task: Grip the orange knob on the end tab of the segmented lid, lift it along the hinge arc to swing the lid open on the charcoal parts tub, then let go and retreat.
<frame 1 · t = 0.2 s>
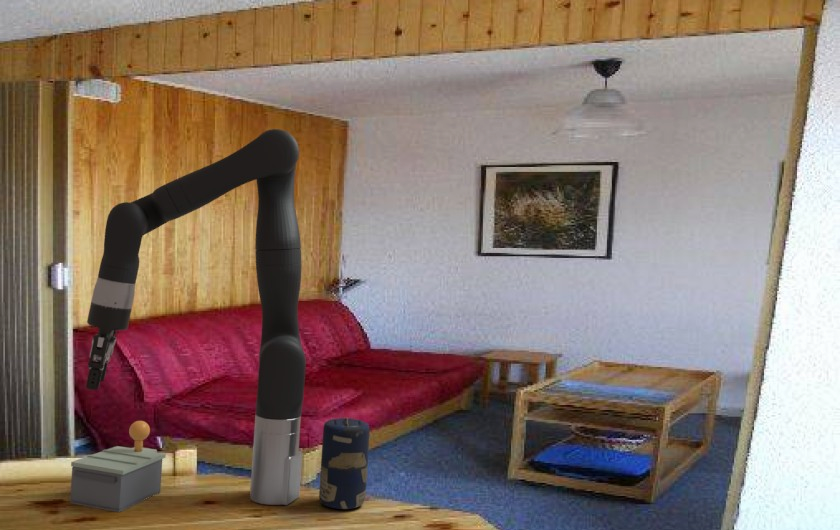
hand: (95, 384, 151), 22 cm above the table, tool pointing down, fingers open, 8 cm apart
lid: (123, 443, 154), point 11 cm above the table, hinge at 0.0°
parts tub: (116, 497, 153), on the table
canister: (341, 505, 158), on the table
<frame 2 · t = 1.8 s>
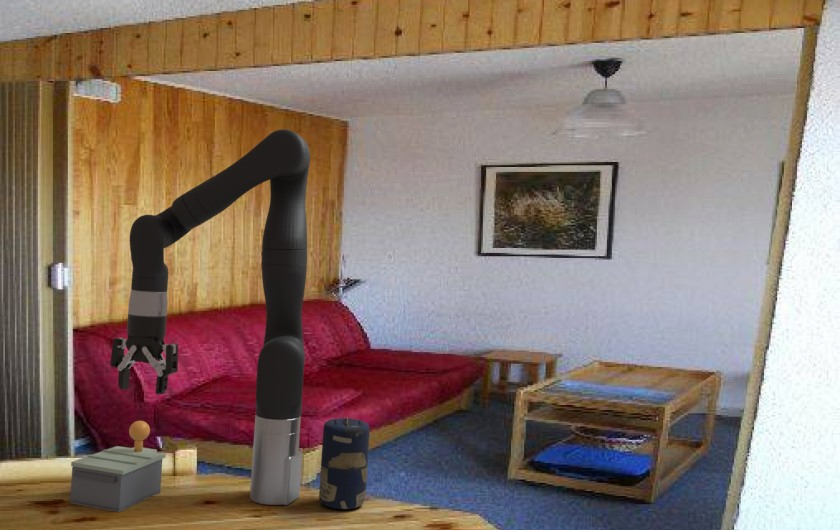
hand: (142, 391, 159), 20 cm above the table, tool pointing down, fingers open, 8 cm apart
nothing on the table moved.
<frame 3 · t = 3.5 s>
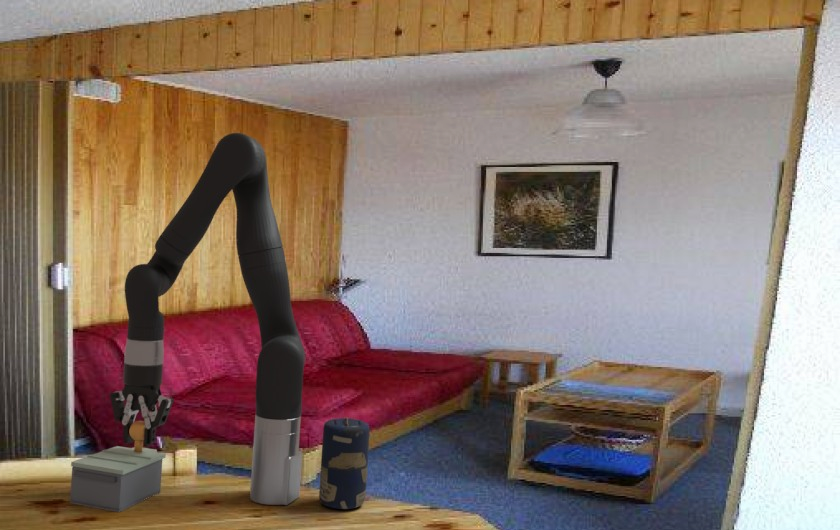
hand: (138, 443, 159), 9 cm above the table, tool pointing down, fingers closed on lid, 4 cm apart
lid: (123, 443, 154), point 11 cm above the table, hinge at 0.0°, touching gripper
everything else where it was.
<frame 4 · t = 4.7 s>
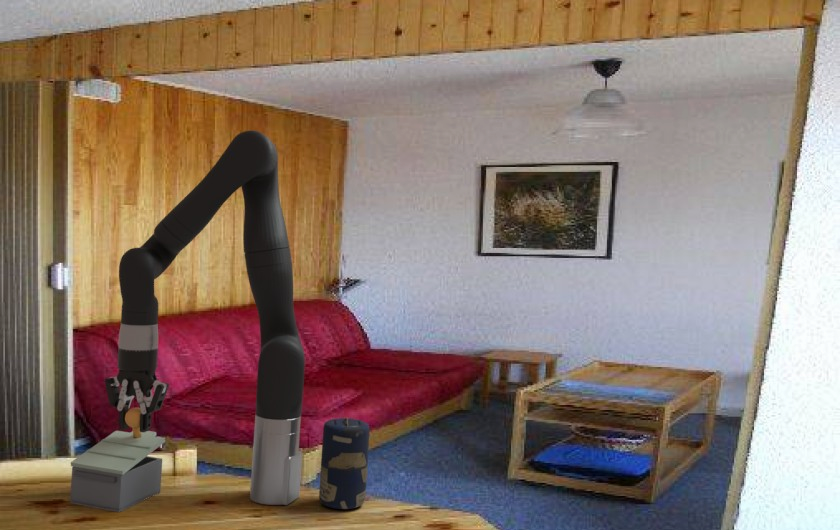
hand: (134, 429, 157), 13 cm above the table, tool pointing down, fingers closed on lid, 4 cm apart
lid: (120, 435, 153), point 12 cm above the table, hinge at 14.6°, touching gripper
everything else where it was.
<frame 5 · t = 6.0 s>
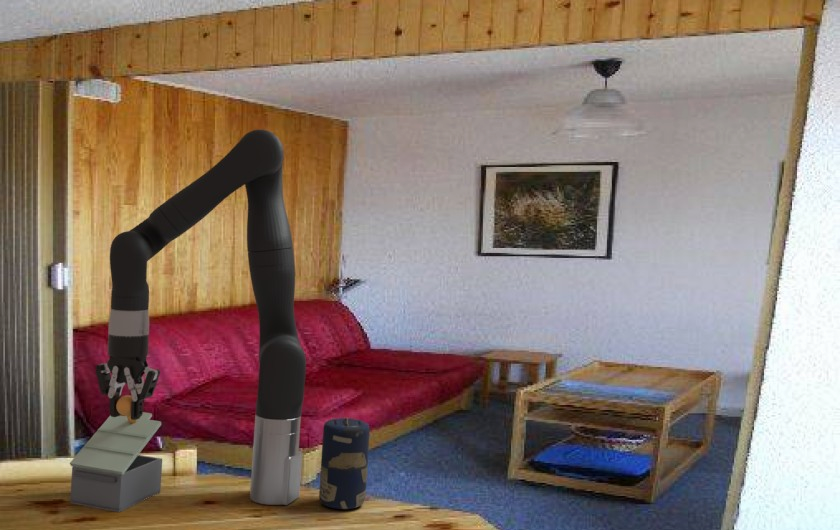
hand: (125, 417, 154), 16 cm above the table, tool pointing down, fingers closed on lid, 4 cm apart
lid: (114, 428, 151), point 14 cm above the table, hinge at 32.4°, touching gripper
everything else where it was.
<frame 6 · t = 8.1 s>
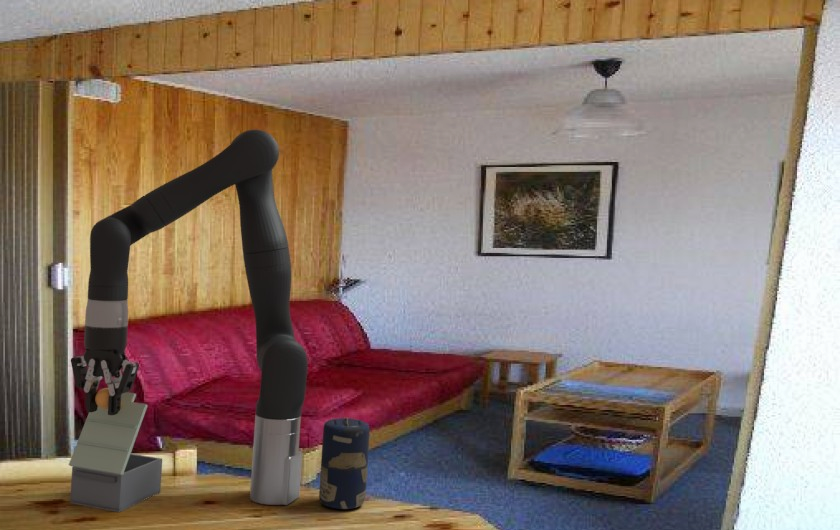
hand: (102, 412, 147), 18 cm above the table, tool pointing down, fingers open, 4 cm apart
lid: (101, 425, 147), point 16 cm above the table, hinge at 61.9°
everything else where it was.
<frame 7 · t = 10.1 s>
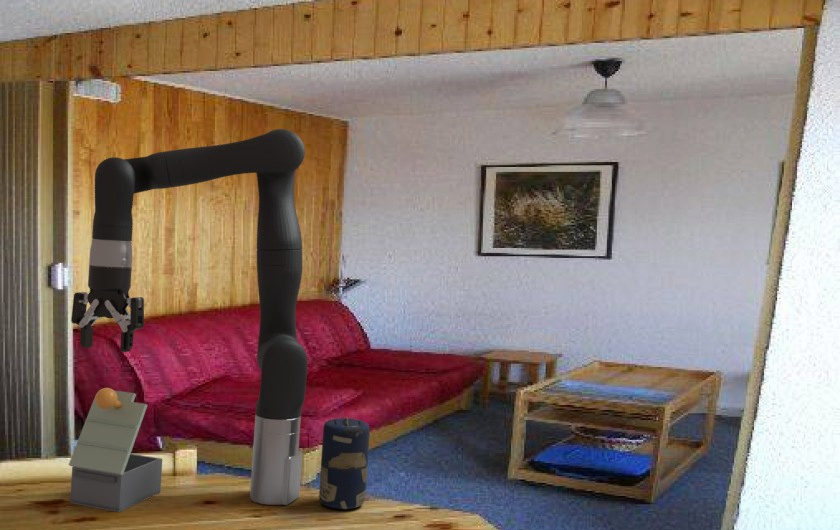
hand: (105, 349, 147), 30 cm above the table, tool pointing down, fingers open, 8 cm apart
nothing on the table moved.
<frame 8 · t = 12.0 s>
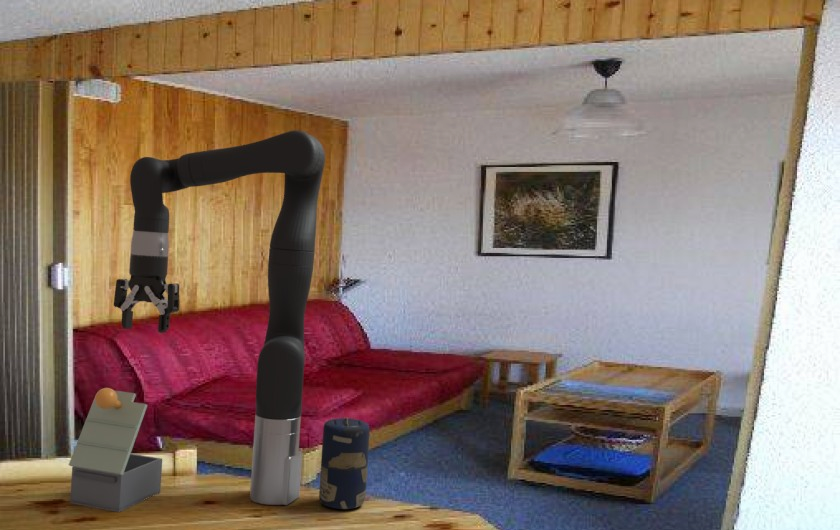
hand: (144, 330, 163), 32 cm above the table, tool pointing down, fingers open, 8 cm apart
nothing on the table moved.
at the end: lid at +62° (first picture: +0°); the gripper is holding nothing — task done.
